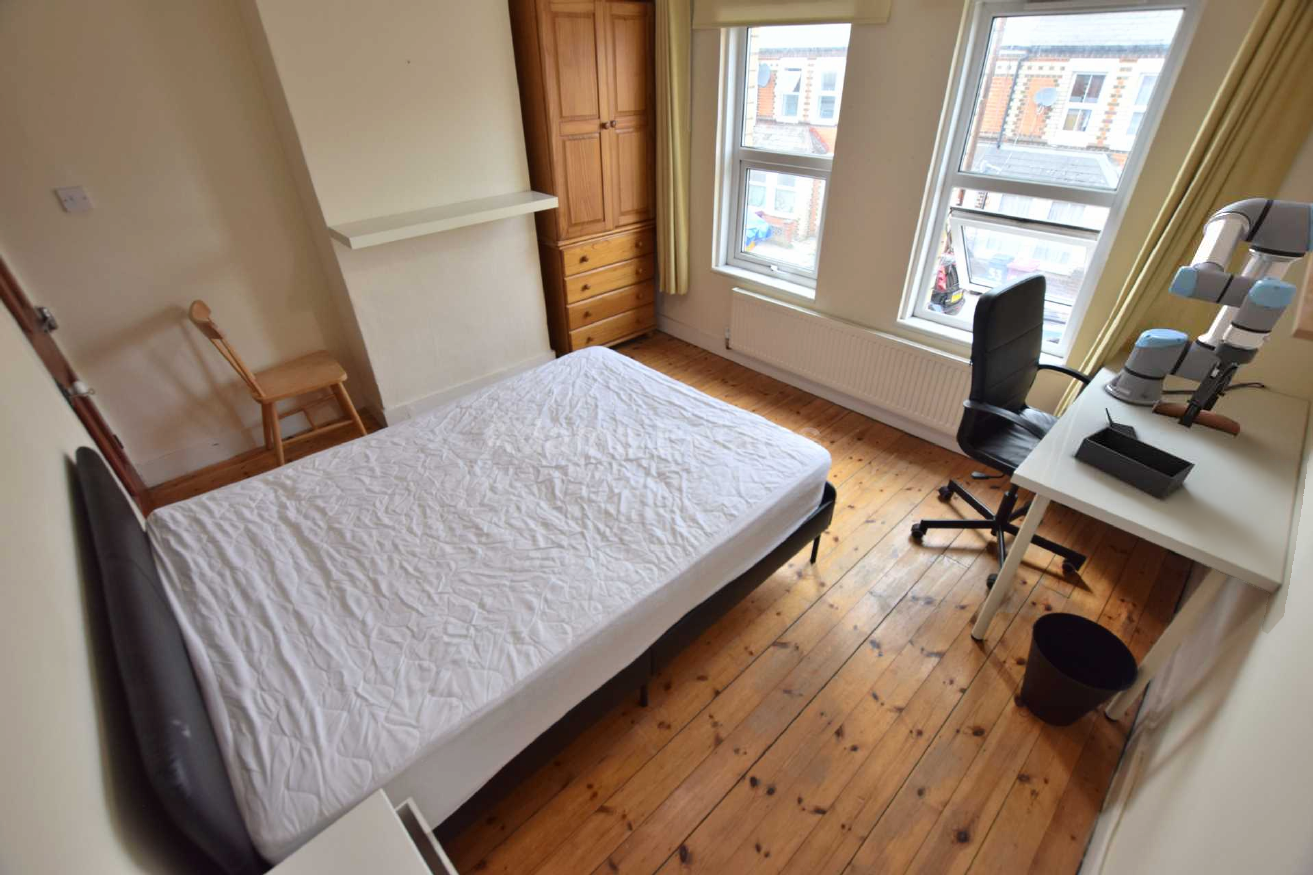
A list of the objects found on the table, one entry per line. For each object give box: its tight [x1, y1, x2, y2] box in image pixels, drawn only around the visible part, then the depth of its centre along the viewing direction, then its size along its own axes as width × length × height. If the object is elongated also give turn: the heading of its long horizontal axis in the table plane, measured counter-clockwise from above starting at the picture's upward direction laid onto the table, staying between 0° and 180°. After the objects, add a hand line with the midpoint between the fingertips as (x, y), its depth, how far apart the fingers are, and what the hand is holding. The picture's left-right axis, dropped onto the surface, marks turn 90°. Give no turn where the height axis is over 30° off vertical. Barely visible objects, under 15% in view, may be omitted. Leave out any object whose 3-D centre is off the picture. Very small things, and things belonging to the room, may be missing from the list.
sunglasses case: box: [1150, 401, 1241, 438], centre depth 155 cm, size 18×7×7 cm
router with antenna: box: [1104, 407, 1138, 439], centre depth 177 cm, size 12×7×10 cm
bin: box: [1074, 425, 1195, 500], centre depth 161 cm, size 13×22×7 cm, turn 31°
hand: (1191, 420), depth 155 cm, fingers closed on sunglasses case, 9 cm apart
